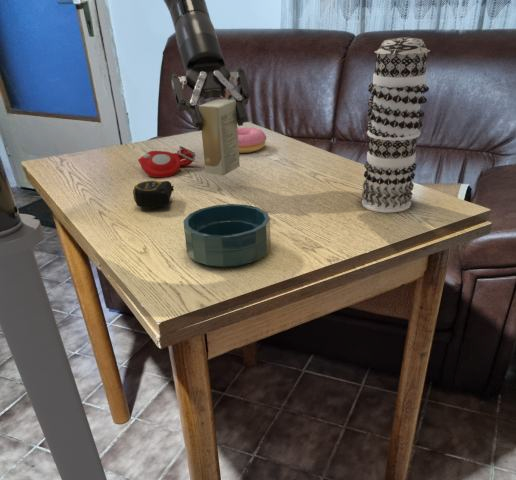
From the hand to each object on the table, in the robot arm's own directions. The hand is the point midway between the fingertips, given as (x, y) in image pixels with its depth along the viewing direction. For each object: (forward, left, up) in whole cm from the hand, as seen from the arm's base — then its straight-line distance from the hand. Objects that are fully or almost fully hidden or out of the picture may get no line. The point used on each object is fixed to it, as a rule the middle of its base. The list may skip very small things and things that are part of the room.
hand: (221, 125), depth 94 cm
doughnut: (+7, +28, -12) cm, 31 cm away
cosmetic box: (0, +1, -9) cm, 9 cm away
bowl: (-2, -29, -12) cm, 31 cm away
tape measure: (-13, -6, -12) cm, 19 cm away
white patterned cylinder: (+27, -16, -12) cm, 33 cm away
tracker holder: (-11, +15, -12) cm, 22 cm away
